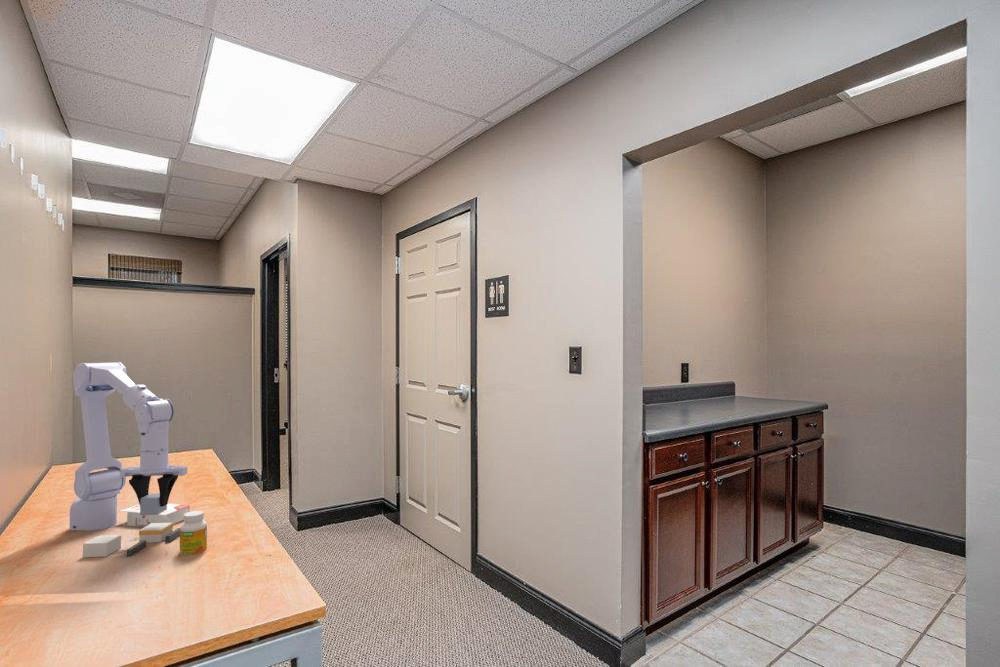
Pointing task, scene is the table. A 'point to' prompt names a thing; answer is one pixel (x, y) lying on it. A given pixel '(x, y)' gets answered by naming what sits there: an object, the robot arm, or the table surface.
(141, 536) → the block
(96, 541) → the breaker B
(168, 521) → the ink cartridge box
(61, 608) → the table surface
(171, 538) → the panel
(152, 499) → the gray cube
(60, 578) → the table surface
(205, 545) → the supplement bottle
